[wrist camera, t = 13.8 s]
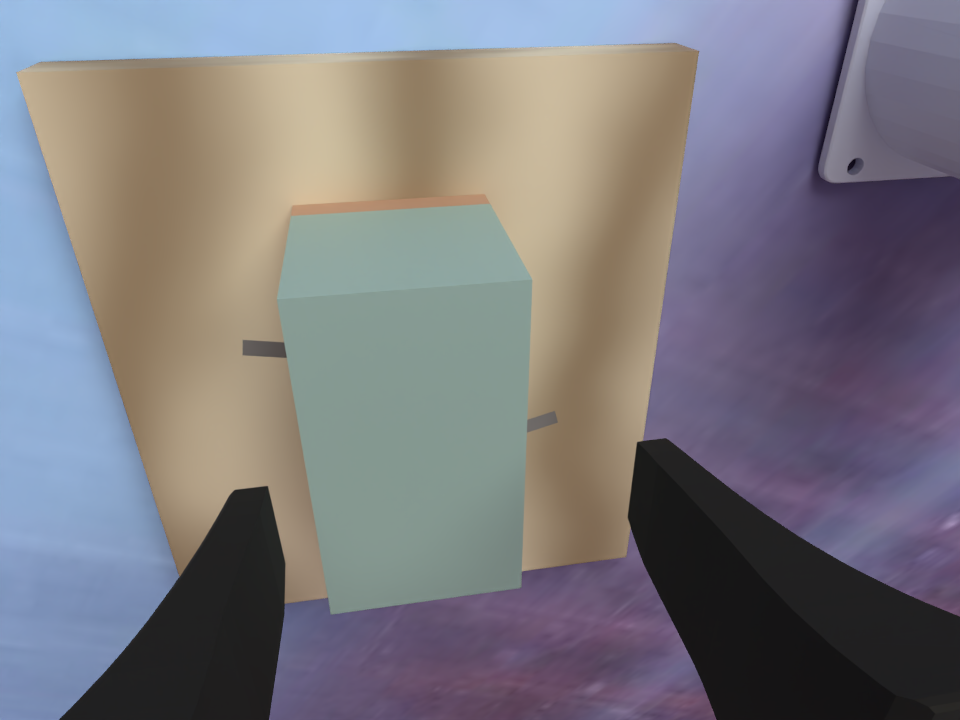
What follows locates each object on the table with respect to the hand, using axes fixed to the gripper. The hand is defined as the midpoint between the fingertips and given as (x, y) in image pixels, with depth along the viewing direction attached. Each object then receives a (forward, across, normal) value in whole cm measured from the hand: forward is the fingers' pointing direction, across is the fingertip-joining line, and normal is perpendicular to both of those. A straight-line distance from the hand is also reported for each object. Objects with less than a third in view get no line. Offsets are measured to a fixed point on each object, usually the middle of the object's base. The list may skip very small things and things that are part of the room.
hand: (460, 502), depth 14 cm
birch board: (+9, +1, +2) cm, 10 cm away
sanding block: (+8, +1, +1) cm, 8 cm away
